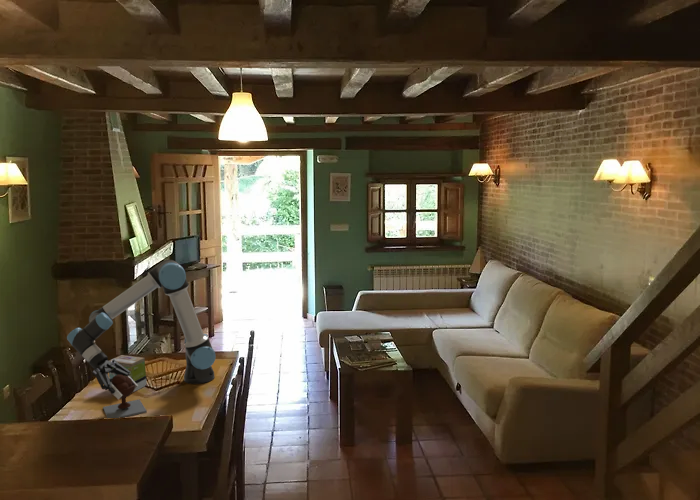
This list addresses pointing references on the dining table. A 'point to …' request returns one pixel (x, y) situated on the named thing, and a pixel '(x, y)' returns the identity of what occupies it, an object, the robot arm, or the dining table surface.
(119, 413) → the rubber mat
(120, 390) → the ice cream bowl
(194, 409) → the dining table surface
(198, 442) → the dining table surface
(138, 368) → the tea box
